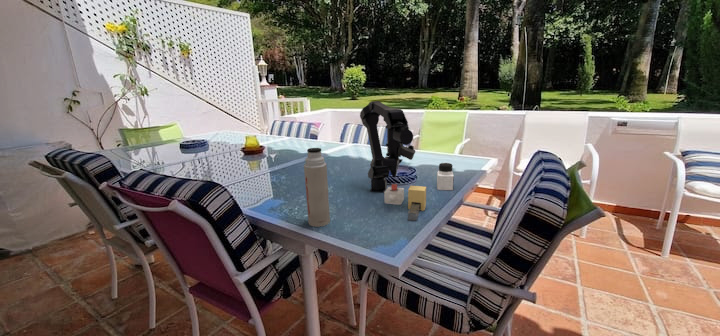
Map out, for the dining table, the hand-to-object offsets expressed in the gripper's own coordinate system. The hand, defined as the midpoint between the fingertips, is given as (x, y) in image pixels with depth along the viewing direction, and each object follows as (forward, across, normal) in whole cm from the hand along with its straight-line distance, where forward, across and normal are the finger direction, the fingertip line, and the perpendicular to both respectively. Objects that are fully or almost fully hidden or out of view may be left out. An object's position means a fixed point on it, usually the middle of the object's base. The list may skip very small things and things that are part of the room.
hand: (394, 177), depth 132 cm
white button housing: (+11, 0, 0) cm, 11 cm away
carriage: (+11, -5, -10) cm, 16 cm away
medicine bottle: (+11, +22, -20) cm, 32 cm away
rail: (+11, -10, -10) cm, 18 cm away
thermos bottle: (+11, -28, +22) cm, 37 cm away
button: (+6, 0, 0) cm, 6 cm away
